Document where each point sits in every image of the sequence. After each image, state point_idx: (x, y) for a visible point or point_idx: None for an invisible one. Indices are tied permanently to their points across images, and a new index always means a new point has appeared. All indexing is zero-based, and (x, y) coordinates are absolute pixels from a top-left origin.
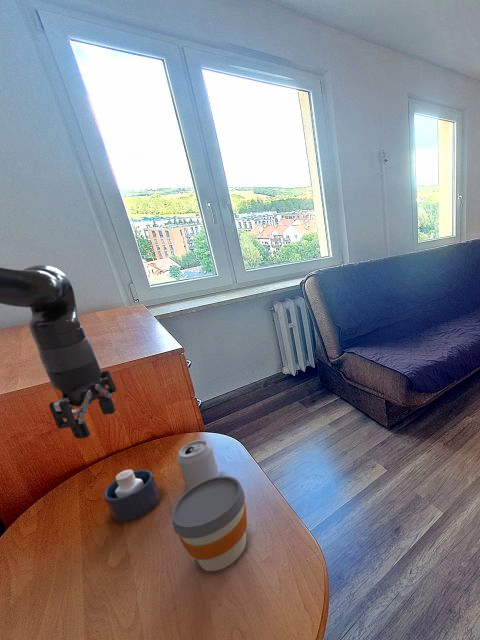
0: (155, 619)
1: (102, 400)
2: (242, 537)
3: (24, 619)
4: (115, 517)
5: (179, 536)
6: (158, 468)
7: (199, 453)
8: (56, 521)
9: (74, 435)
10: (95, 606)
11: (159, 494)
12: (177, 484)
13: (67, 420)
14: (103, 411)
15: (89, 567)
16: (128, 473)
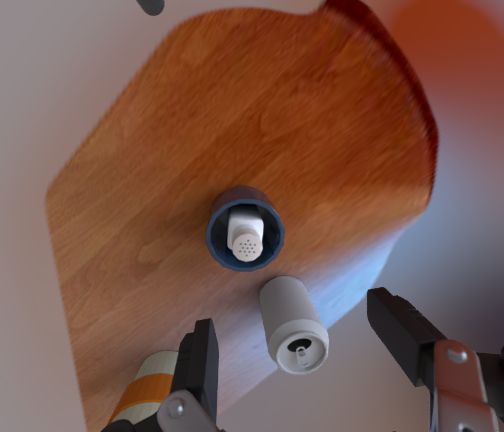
0: (84, 347)
1: (423, 359)
2: None
3: (59, 200)
4: (211, 209)
5: (121, 408)
6: (328, 195)
7: (285, 371)
8: (213, 92)
9: (180, 349)
10: (87, 276)
11: None
12: (283, 254)
13: None
14: (376, 301)
15: (134, 227)
16: (250, 254)
